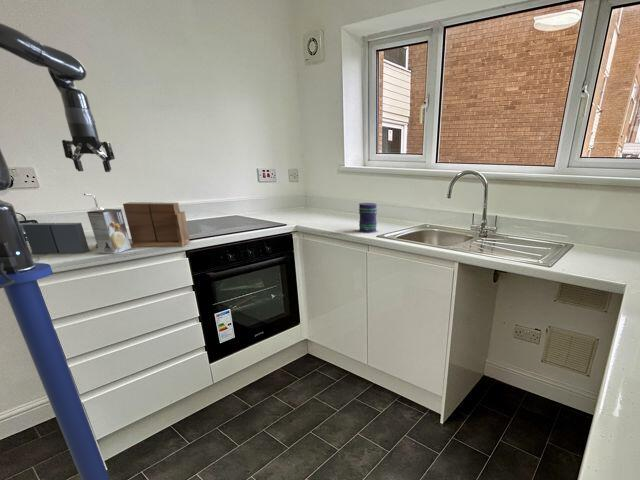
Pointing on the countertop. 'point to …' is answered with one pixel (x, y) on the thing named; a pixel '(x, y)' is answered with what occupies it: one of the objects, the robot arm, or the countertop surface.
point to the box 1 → (140, 221)
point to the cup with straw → (95, 203)
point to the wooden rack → (181, 231)
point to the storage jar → (367, 217)
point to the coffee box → (109, 230)
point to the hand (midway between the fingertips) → (94, 171)
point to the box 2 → (165, 221)
